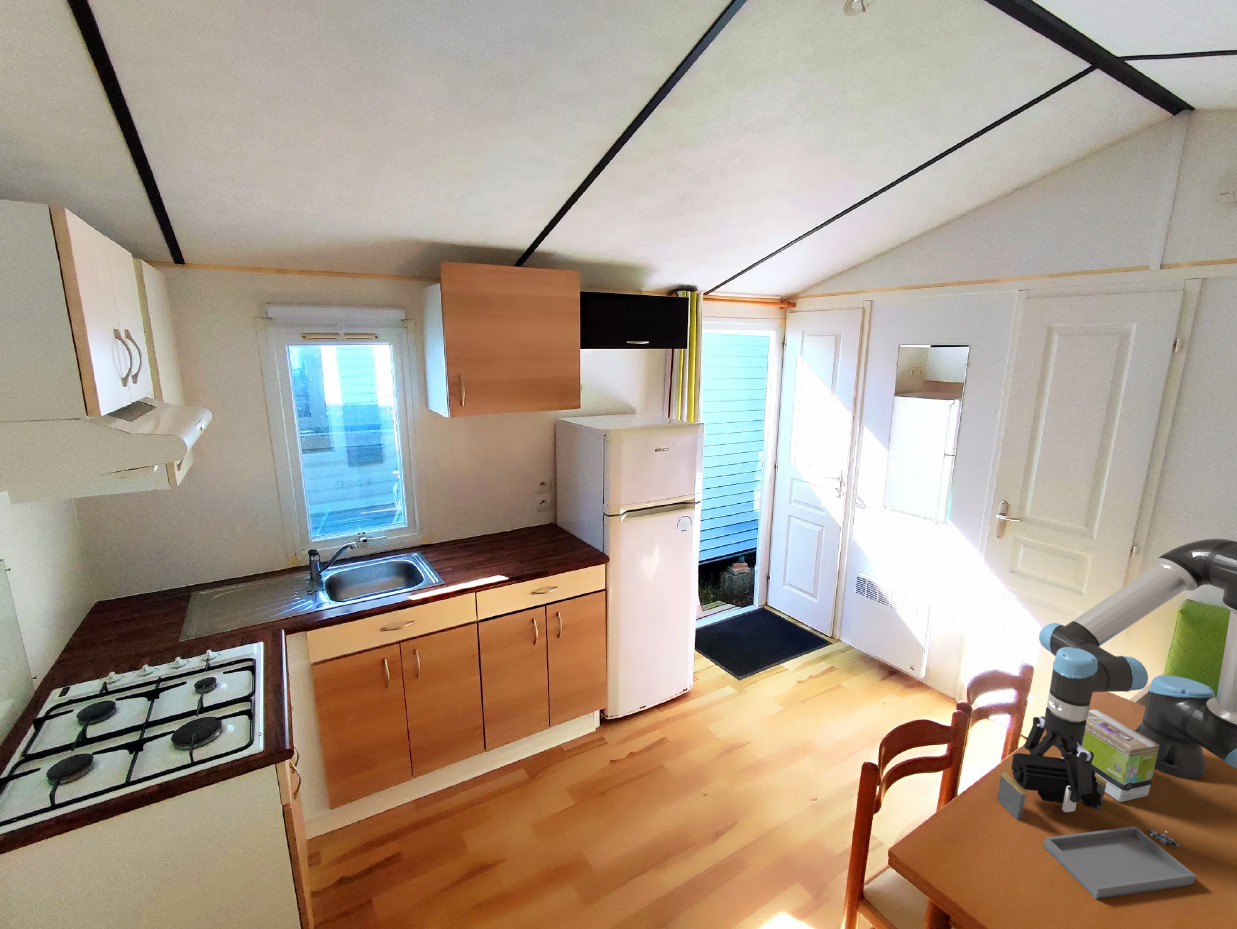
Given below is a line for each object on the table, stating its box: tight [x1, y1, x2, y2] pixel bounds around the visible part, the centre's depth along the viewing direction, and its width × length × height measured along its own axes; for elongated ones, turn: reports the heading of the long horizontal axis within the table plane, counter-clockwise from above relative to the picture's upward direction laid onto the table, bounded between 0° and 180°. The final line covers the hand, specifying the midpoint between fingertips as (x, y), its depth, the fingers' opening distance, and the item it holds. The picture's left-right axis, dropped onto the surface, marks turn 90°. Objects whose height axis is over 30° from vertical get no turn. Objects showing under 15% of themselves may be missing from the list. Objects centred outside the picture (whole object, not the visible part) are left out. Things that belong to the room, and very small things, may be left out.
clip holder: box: [996, 771, 1107, 821], centre depth 136 cm, size 23×6×8 cm, turn 98°
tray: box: [1043, 826, 1196, 900], centre depth 121 cm, size 23×12×2 cm, turn 98°
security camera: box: [1011, 752, 1103, 809], centre depth 136 cm, size 7×18×10 cm, turn 79°
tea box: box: [1061, 708, 1159, 803], centre depth 144 cm, size 15×10×15 cm, turn 14°
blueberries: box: [1146, 828, 1181, 849], centre depth 128 cm, size 7×8×2 cm
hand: (1051, 795), depth 137 cm, fingers closed on security camera, 8 cm apart
